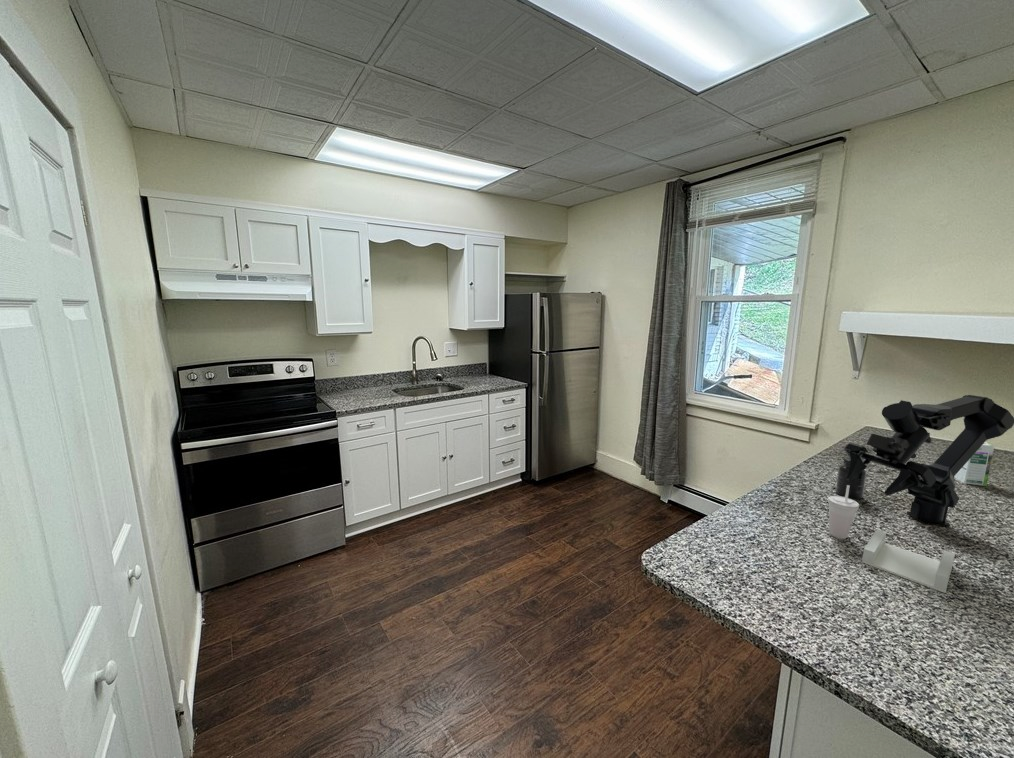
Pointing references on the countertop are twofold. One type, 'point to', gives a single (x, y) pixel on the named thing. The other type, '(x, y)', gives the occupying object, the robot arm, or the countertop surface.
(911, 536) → the countertop surface
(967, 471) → the syrup box
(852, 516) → the smoothie
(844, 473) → the supplement bottle
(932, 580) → the sheet metal channel
